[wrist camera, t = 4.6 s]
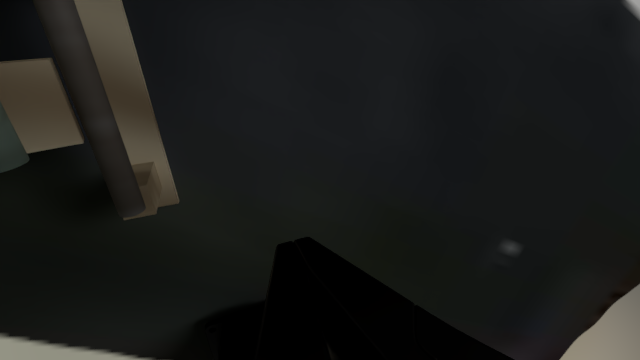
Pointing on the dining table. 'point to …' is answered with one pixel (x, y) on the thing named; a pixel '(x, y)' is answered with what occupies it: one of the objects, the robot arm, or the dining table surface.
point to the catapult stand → (128, 99)
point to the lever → (64, 106)
